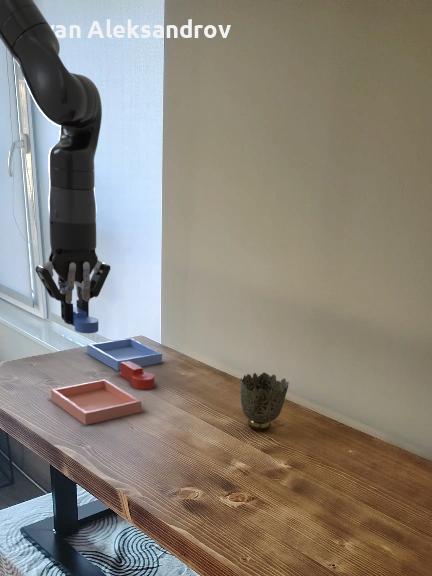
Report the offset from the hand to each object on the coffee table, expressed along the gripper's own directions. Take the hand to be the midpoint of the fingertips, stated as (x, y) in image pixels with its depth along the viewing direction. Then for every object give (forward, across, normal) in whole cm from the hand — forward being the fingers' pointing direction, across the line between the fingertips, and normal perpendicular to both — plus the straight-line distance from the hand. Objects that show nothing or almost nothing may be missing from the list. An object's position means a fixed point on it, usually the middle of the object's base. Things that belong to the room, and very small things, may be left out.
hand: (75, 322), depth 111 cm
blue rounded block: (0, 0, +2) cm, 2 cm away
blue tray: (+9, -12, -3) cm, 16 cm away
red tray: (+9, +5, +15) cm, 19 cm away
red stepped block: (+9, -7, +9) cm, 15 cm away
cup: (+9, -13, +35) cm, 39 cm away
